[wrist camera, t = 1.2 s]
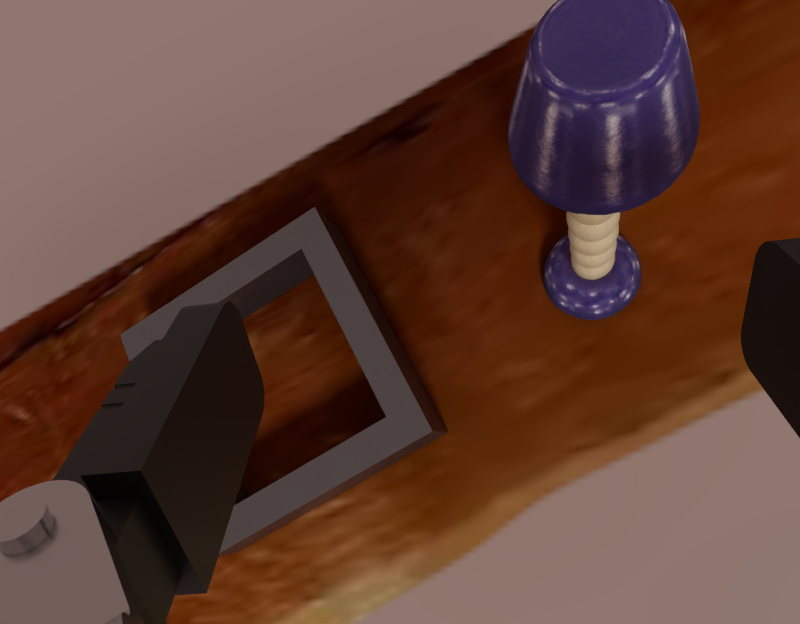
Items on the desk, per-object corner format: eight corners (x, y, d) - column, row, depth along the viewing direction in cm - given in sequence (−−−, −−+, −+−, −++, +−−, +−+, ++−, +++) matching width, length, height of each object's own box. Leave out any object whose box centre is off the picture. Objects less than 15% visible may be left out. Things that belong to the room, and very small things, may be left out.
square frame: (158, 343, 34) (120, 334, 31) (338, 227, 32) (314, 206, 29) (239, 551, 30) (202, 562, 27) (447, 432, 28) (432, 431, 25)
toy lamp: (530, 234, 29) (464, -11, 13) (631, 205, 28) (688, -98, 12) (556, 330, 28) (517, 186, 12) (663, 304, 27) (773, 107, 11)
